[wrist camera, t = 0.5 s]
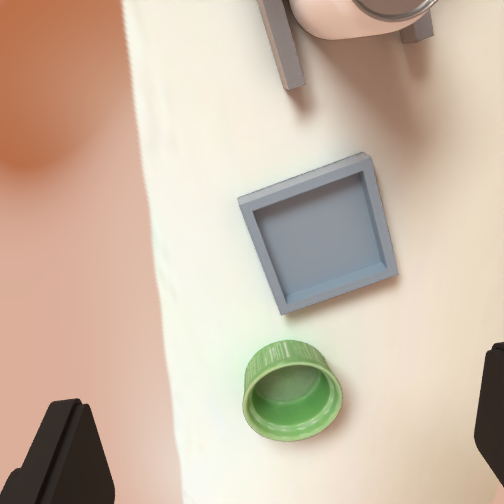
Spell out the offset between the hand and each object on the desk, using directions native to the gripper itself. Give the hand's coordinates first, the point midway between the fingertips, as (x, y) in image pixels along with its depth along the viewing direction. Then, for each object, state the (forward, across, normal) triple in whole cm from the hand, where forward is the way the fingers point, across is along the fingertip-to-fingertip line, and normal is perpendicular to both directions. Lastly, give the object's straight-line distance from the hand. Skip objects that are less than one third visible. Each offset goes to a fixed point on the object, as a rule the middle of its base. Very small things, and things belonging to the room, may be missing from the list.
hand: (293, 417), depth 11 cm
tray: (+27, -6, +7) cm, 29 cm away
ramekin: (+27, -3, +21) cm, 35 cm away
